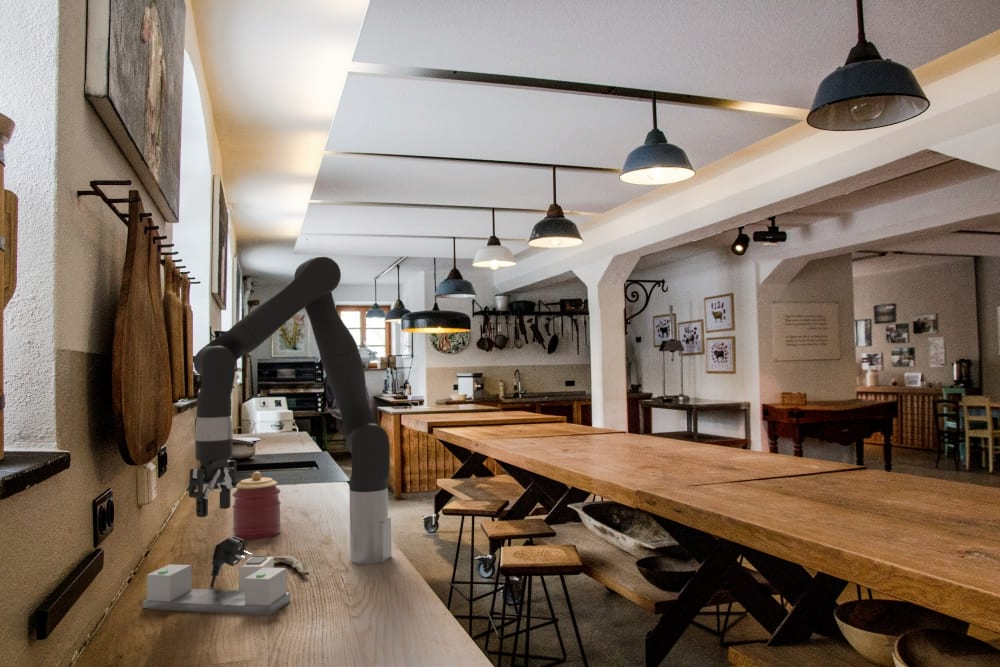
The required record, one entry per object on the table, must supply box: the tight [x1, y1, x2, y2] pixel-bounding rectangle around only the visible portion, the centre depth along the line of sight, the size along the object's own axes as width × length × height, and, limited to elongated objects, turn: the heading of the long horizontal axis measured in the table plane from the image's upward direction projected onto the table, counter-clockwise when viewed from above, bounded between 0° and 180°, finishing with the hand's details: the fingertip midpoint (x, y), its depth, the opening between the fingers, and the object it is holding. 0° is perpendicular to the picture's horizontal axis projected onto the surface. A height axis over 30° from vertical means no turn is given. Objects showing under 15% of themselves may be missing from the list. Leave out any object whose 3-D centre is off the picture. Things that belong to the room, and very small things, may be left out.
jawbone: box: [252, 554, 310, 577], centre depth 163 cm, size 9×20×2 cm, turn 55°
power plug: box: [210, 535, 254, 587], centre depth 150 cm, size 6×8×12 cm
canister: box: [232, 471, 282, 540], centre depth 197 cm, size 13×13×18 cm
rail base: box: [142, 588, 291, 617], centre depth 138 cm, size 27×8×2 cm, turn 80°
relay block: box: [238, 556, 275, 591], centre depth 149 cm, size 5×7×6 cm
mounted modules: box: [146, 563, 287, 606], centre depth 138 cm, size 26×7×5 cm, turn 80°
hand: (213, 512), depth 151 cm, fingers open, 8 cm apart
